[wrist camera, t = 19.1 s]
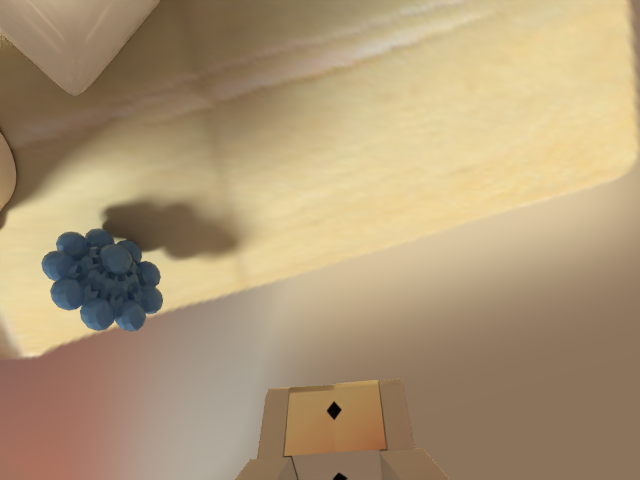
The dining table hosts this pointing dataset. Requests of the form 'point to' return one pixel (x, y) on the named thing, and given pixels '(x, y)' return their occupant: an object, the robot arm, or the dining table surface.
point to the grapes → (103, 280)
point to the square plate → (72, 35)
